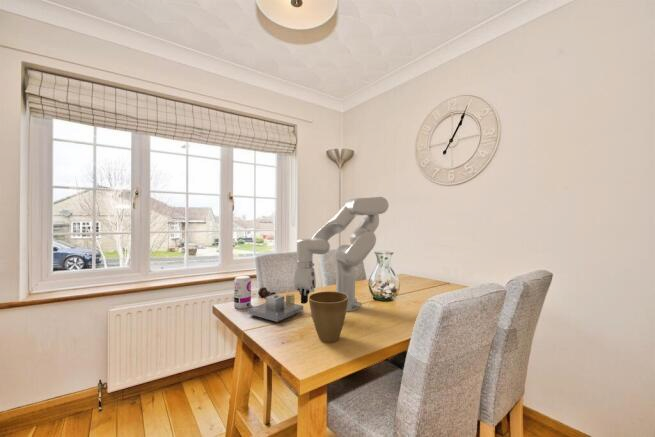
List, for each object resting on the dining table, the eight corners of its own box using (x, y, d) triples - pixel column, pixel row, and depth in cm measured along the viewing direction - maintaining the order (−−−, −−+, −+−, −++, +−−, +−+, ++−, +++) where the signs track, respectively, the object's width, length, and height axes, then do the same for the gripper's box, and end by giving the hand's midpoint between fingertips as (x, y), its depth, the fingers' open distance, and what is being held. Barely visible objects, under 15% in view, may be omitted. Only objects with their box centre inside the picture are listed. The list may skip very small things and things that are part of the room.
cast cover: (284, 306, 133) (284, 296, 133) (275, 310, 128) (275, 299, 128) (274, 304, 136) (274, 294, 136) (265, 307, 131) (265, 297, 131)
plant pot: (333, 327, 117) (333, 289, 117) (355, 341, 104) (356, 298, 104) (301, 335, 109) (301, 294, 109) (321, 351, 96) (321, 305, 96)
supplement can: (253, 304, 147) (253, 275, 146) (247, 309, 138) (247, 279, 138) (238, 303, 147) (238, 275, 147) (231, 309, 139) (231, 278, 139)
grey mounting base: (306, 310, 137) (306, 296, 137) (277, 324, 119) (277, 308, 119) (278, 304, 146) (278, 291, 146) (247, 315, 129) (248, 301, 129)
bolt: (275, 305, 151) (260, 298, 161) (282, 299, 154) (267, 292, 164) (271, 297, 149) (256, 290, 159) (278, 291, 152) (263, 285, 162)
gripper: (322, 265, 134) (321, 303, 134) (297, 262, 142) (297, 298, 143) (312, 267, 128) (312, 307, 128) (287, 264, 136) (287, 302, 136)
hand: (304, 302), depth 135 cm, fingers closed
